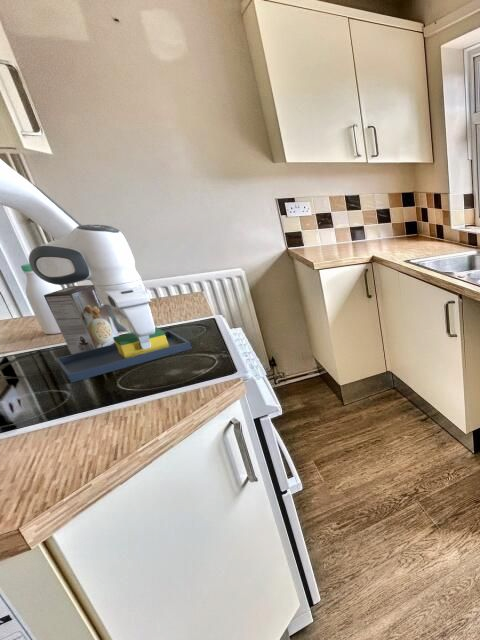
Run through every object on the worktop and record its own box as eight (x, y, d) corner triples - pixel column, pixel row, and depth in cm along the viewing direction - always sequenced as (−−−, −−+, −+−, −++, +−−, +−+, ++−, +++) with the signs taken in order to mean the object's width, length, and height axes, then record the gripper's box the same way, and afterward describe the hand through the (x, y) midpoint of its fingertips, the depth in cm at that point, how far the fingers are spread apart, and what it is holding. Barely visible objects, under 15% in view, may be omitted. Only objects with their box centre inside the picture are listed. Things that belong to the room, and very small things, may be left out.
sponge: (125, 359, 104) (119, 342, 102) (119, 353, 107) (112, 337, 106) (169, 347, 111) (163, 331, 109) (162, 342, 114) (156, 326, 112)
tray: (71, 382, 94) (67, 374, 93) (58, 366, 102) (54, 358, 102) (191, 348, 111) (189, 341, 110) (172, 336, 119) (169, 330, 119)
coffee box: (96, 341, 117) (72, 285, 111) (121, 339, 118) (99, 283, 112) (69, 354, 109) (42, 294, 103) (97, 352, 110) (72, 293, 104)
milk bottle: (47, 336, 121) (15, 268, 114) (40, 331, 125) (9, 265, 118) (83, 328, 127) (54, 262, 120) (75, 324, 131) (47, 260, 124)
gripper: (95, 289, 107) (115, 340, 112) (116, 302, 95) (138, 358, 100) (127, 284, 111) (145, 333, 116) (151, 296, 100) (170, 349, 105)
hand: (142, 344), depth 108 cm, fingers closed on sponge, 6 cm apart
